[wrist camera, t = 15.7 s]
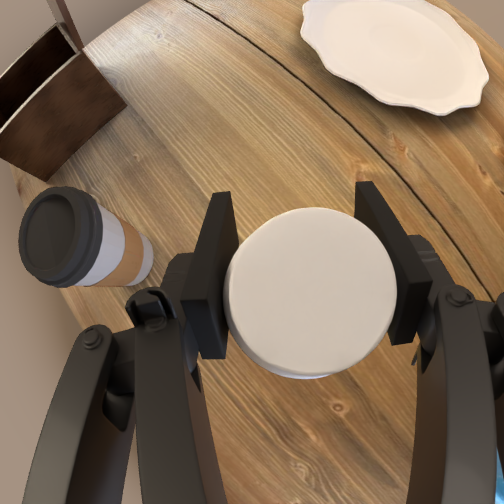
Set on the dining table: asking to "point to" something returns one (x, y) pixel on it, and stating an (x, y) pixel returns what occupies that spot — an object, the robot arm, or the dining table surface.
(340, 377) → the dining table surface
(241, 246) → the supplement bottle
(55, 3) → the lid
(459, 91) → the plate
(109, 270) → the coffee cup
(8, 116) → the chest
